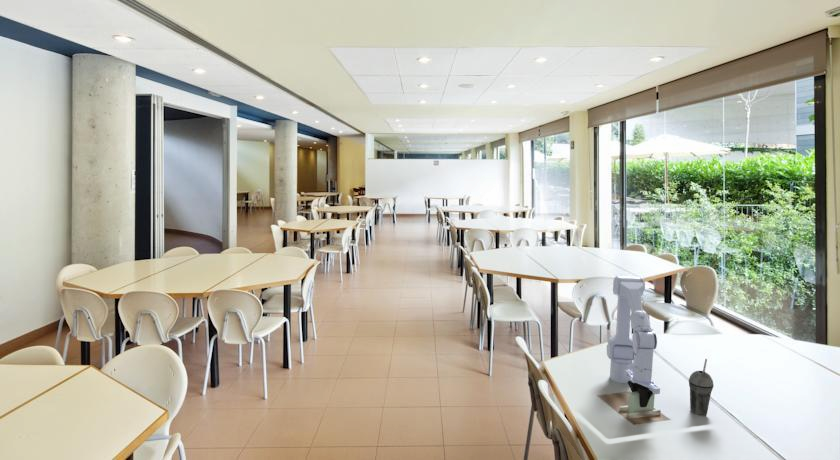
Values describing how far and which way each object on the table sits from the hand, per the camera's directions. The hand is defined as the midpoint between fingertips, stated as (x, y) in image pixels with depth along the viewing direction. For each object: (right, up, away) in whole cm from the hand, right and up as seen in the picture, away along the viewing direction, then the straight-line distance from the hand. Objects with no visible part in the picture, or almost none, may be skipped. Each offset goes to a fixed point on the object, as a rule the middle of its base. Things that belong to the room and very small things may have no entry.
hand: (640, 404), depth 154 cm
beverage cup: (+20, -4, +1) cm, 21 cm away
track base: (-1, -4, +4) cm, 6 cm away
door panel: (0, -3, 0) cm, 3 cm away
